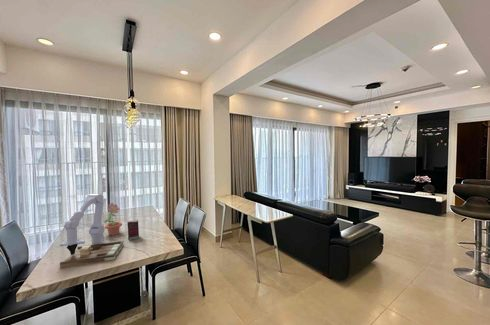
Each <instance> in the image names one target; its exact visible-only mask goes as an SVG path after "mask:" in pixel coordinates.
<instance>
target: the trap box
mask: <svg viewBox="0 0 490 325" xmlns="http://www.w3.org/2000/svg"><path fill="white" fill-rule="evenodd" d="M124 243H125V242H124V240H122V241H121V240H120V241H112V242H105V243H103V244H95V245H92V244H90V245H91V252H90V254H89V255H84V256H80V249H81V248H82V247H83V246H84V245H80V246H77V247H76V250H75V254H74V255H71V254H70V255H69V256H68V257H67V258H66V259H65V260H63V261H60V262H59V268H66V267H67V268H68V267H73V266H79V265H80V266H81V265H87V264H92V263H93V264H94V263H99V262H106V261H113V260H115V259H116V258H117V256H118V254H119V253H120V251H121V250H122V248H123V247H124ZM90 245H88V244H87V245H86V246H90Z"/></svg>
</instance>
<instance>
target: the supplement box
mask: <svg viewBox="0 0 490 325" xmlns="http://www.w3.org/2000/svg"><path fill="white" fill-rule="evenodd" d="M139 233H140V230H139V219H134V220H130V221H127V238H128V241H131V240H136V239H140V234H139Z"/></svg>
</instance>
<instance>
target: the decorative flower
mask: <svg viewBox="0 0 490 325" xmlns="http://www.w3.org/2000/svg"><path fill="white" fill-rule="evenodd" d="M107 210H108V212H109V213H110V214H109V216H108V218H107V219H105V221H104V223H107V222H108V223H107V224H105V225H104V229H107V233H108V236H115V235H118V234H119V233H120V227H121V226H123V223H122V222H121V221H115V220H113V218H112V217H116V214H118V213H119V211H120V210H121V209H120V207H118V205H117V204H116V203H115V204H114V202H111V203H109V204H108V206H107Z"/></svg>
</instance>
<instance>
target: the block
mask: <svg viewBox="0 0 490 325" xmlns="http://www.w3.org/2000/svg"><path fill="white" fill-rule="evenodd" d="M91 245H92V244H90V246H87V245H82V246H83V247H82V248H81V249H80V256H84V255H89V254H90V252H91Z"/></svg>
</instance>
